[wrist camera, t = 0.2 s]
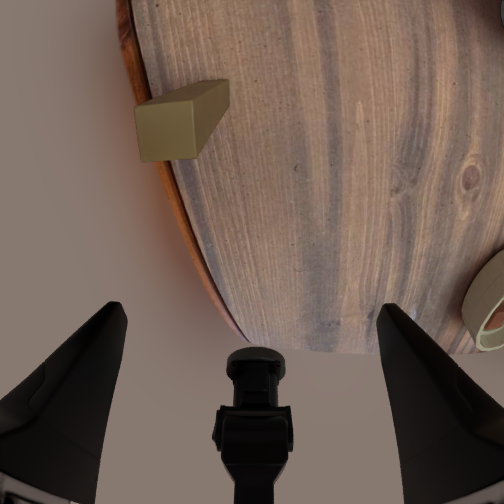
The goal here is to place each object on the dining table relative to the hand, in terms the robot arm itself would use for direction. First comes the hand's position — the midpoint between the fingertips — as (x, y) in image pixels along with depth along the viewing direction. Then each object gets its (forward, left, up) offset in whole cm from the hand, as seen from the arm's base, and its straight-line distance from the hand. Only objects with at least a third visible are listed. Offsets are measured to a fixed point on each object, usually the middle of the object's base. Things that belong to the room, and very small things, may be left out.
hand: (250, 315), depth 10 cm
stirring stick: (+5, +2, -13) cm, 14 cm away
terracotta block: (-14, -29, -12) cm, 34 cm away
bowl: (-12, -30, -13) cm, 35 cm away
